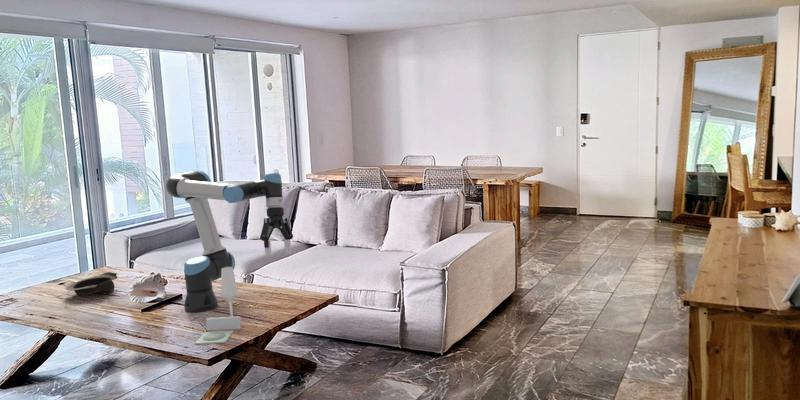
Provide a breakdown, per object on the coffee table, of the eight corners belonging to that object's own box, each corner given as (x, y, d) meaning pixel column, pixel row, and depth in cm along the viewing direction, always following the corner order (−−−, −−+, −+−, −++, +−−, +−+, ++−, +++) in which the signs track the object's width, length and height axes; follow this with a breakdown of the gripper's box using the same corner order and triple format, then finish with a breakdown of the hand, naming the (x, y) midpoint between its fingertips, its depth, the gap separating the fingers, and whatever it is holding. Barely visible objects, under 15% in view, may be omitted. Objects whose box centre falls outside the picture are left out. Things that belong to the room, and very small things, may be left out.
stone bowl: (129, 289, 326) (126, 272, 324) (85, 306, 306) (81, 289, 304) (102, 283, 339) (99, 267, 337) (58, 299, 319) (55, 283, 317)
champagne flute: (227, 319, 269) (221, 266, 266) (242, 318, 269) (237, 266, 265) (222, 324, 263) (216, 270, 259) (237, 324, 262) (232, 270, 259)
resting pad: (195, 344, 241) (194, 342, 241) (204, 333, 253) (204, 331, 253) (225, 342, 241) (225, 341, 241) (233, 331, 253) (233, 330, 253)
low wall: (207, 330, 256) (205, 319, 255) (208, 329, 258) (207, 318, 257) (240, 328, 256) (239, 317, 255) (241, 327, 258) (240, 316, 257)
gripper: (263, 205, 262) (266, 255, 260) (298, 207, 284) (302, 252, 282) (249, 207, 265) (253, 256, 263) (285, 209, 287) (289, 254, 285)
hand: (278, 254), depth 273 cm, fingers open, 13 cm apart
